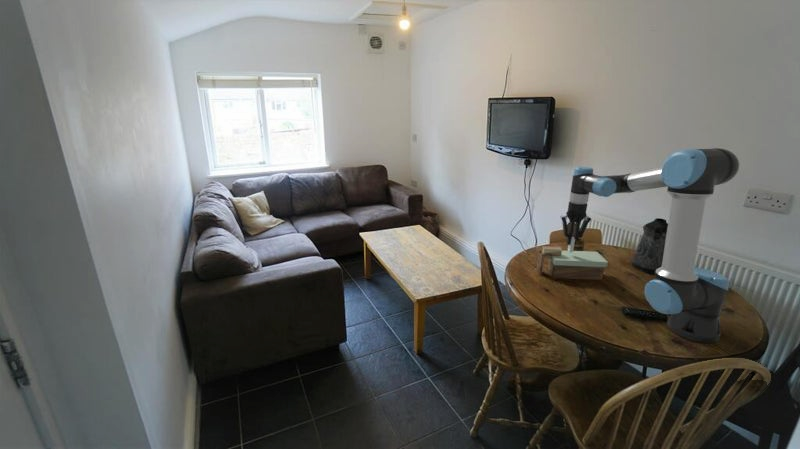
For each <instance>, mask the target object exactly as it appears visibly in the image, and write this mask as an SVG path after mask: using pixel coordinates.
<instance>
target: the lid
mask: <svg viewBox="0 0 800 449" xmlns="http://www.w3.org/2000/svg"><path fill="white" fill-rule="evenodd" d="M550 260H551V261H552V263H553V264H554V265H564V266H588V267H604V268H607V267H608V263H609V262H608V260H606V259H605V257H603V256H602V255H601V254H600V253H599V252H598V251H588V250H587V251H586V250H584V251H573V252H569V251H567V250H563V249H562V253H561V255H552V258H550Z"/></svg>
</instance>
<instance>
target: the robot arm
mask: <svg viewBox="0 0 800 449" xmlns="http://www.w3.org/2000/svg"><path fill="white" fill-rule="evenodd" d="M739 168H740V162H739V158H738V157H737V155H736V154H735V153H734V152H732V151H730V150H728V149H725V148H714V147H713V148H688V149H683V150H678V151H676V152H674V153H672V154H671V155H670V156H668V157H667V158H666V159H665V161H664V162H663V165H662V166H661V167H656V168H651V169H646V170H642V171H641V170H640V171H636V172H631V173H624V174H619V175H597V174H595V173H594V169H593V168H592V167H590V166H576V167H574V170H573V175H572V179H571V180H572V181H571V188H570V194H569V201H568V206H567V211H566V213H565V214H564V215H561V216H560V219H561V221H562V230H563V231H562V232H563V235H564V236H565V238H567V240H566V244H567V245H568V246H567V250H568V251H569V252H573V249H574V245H576V243H577V239H578V238H581V239H582V238H583V237H584V233H585V232H586V229H587V226H588V224H589V223H590V221H592V218H591V217H590V216H588V214H587V209H588V202H589V198H590V194H593V195H596V196H598V197H604V198H607V197H611V196H612V195H613V194H614V195H615V194H627V193H628V194H629V193H630V194H631V193H635V192H638V191H646V190H651V189H652V190H653V189H660V188H666V187H667V193H668V194H669V196H670V197H671V201H670V202H671V203H670V208H669V209H670V210H669V216H668V222H667V223H668V228H667V235H666V241H665V248H664V255H663V262H662V266H661V267H660V268H658V269H656V272H655V274H654V278H653V279H652V280H650V281H649V282H647V283H646V284H645V287H644V296H645V298H646V301H647V302H648V303H649V305H650V306H651V308H652V309H654V310H655V311H657V313H660V314H664V315H669V316H668V318H667V321H666V325H667V327H668V329H669V330H670V331H672V332H673V333H675V334H676V335H678V336H680V337H682V338H684V337H685V338H684V339H686V338H687V339H686V340H689V339H690V341H692V340H693V342H696V341H697V343H701V342H702V343H703V344H714V343H713V342H715V343H717V342H718V341H719V340H720V337H721V326H720V315H721V312H722V310H723V306H724V303H725V301H726V297H727V295H728V291H729V290H730V289H729V286H730V280H729V279H728V278H727V277H726V276H724V275H723V274H721V273H719V272H716V271H714V270H710V269H707V268H703V267H698V266H697V267H695V264H696V259H697V254H698V247H699V241H700V237H701V236H700V235H701V229H702V223H703V218H704V217H703V216H704V213H705V212H704V211H705V205H706V201H707V199H709V197H711V196H713V194H714V193H715V192H714V191H715V186H718V185H719V186H720V185H722V184H726V183H728V182H730V181H731V180H732V179H734V178H735V177H736V175H737V174H738V172H739ZM567 220H568V221H569V222H567ZM582 221H583V222H582ZM568 223H569V230H567V224H568ZM574 224H575V229H574V235H573V236H574V237H572V234H573V228H574ZM702 343H701V344H702Z"/></svg>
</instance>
